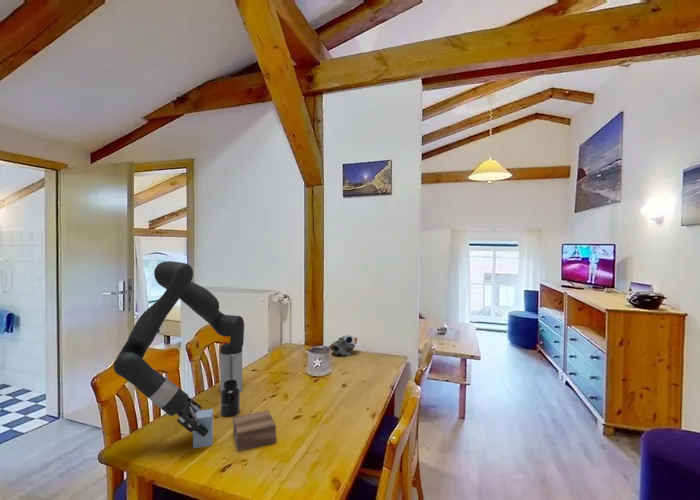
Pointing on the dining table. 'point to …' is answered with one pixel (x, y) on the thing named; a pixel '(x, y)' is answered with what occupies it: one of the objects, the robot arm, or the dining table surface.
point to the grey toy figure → (344, 345)
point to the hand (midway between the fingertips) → (207, 427)
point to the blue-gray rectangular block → (207, 421)
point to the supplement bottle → (230, 398)
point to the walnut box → (254, 430)
